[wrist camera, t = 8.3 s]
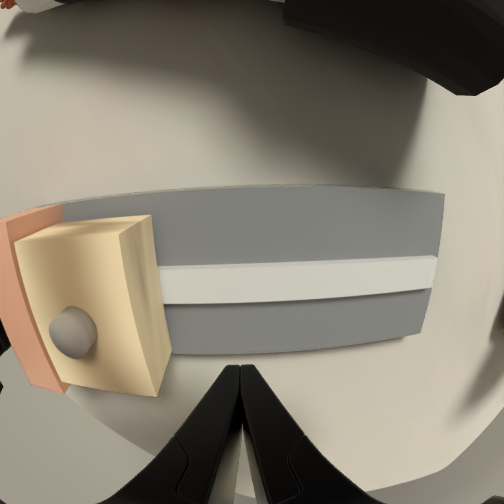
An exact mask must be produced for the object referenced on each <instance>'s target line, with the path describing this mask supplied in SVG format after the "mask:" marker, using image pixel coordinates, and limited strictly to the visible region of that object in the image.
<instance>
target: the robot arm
mask: <svg viewBox="0 0 504 504" xmlns="http://www.w3.org/2000/svg"><path fill="white" fill-rule="evenodd" d="M11 346H12V345H11V343H10V341H9V338H8V336H7V334H6V331H5V329H4V326H3V324H2V321H1V318H0V356H1V355H2V354H3V353H4V352H5V351H7V350H8V349H9V348H10V347H11ZM2 388H3V385H2V383H1V382H0V393H1V391H2ZM242 424H243V433H244V439H245V445H246V450H247V456H248V461H249V466H250V471H251V476H252V481H253V486H254V491H255V496H256V501H257V504H386V503H383V502H381V501H378V500H376V499H374V498H373V497H371V496H370V495H368V494H367V493H365V492H364V491H363V490H362V489H361V488H359V487H358V486H357V485H356V484H354V483H353V482H352V481H351V480H350V479H348V478H347V477H346V476H345V475H344V474H343V473H341V472H340V471H339V470H338V469H337V468H336V467H335V466H334V465H333V464H331V463H330V462H329V461H328V460H327V459H326V458H325V457H324V456H323V455H322V454H321V453H320V451H319V450H318V449H317V448H316V447H315V446H314V444H313V443H312V442H311V441H310V440H309V438H308V437H307V436H306V435H304V432H303V431H302V429H301V428H300V427H299V426H298V424H297V423H296V422H295V420H294V419H293V418H292V416H291V415H290V414H289V412H288V411H287V410H286V408H285V407H284V406H283V404H282V403H281V402H280V400H279V399H278V398H277V396H276V395H275V393H274V392H273V391H272V389H271V388H270V387H269V385H268V384H267V382H266V381H265V380H264V378H263V377H262V375H261V374H260V372H259V371H258V370H257V368H256V367H255V366H254V365H253V364H246V365H241V366H239V365H227V366H226V367H225V368H224V369H223V371H222V372H221V373H220V375H219V376H218V378H217V379H216V380H215V382H214V383H213V384H212V386H211V387H210V388H209V390H208V391H207V393H206V394H205V395H204V397H203V398H202V399H201V401H200V402H199V403H198V405H197V406H196V407H195V409H194V410H193V411H192V413H191V414H190V415H189V416H188V418H187V419H186V420H185V422H184V423H183V424H182V426H181V427H180V428H179V429H178V431H177V432H176V433H175V435H174V437H172V438H171V439H170V441H169V442H168V443H167V445H166V446H165V447H164V448H163V449H162V450H161V452H160V453H159V454H158V455H157V456H156V457H155V458H154V459H153V460H152V461H151V462H150V463H149V464H148V465H147V466H146V467H145V468H144V469H143V470H142V471H141V472H140V473H138V474H137V475H136V476H135V477H134V478H133V479H132V480H130V481H129V482H128V483H127V484H126V485H125V486H124V487H122V488H121V489H120V490H119V491H118V492H116V493H115V494H114V495H113V496H111V497H109V498H108V499H106V500H104V501H102V502H100V503H97V504H233V501H234V494H235V486H236V478H237V471H238V463H239V455H240V447H241V438H242ZM0 504H6V503H4V502H3V501H2V500H0ZM482 504H504V497H501V496H496V495H495V496H492V497H490V498H489V499H487V500H486V501H485V502H483V503H482Z"/></svg>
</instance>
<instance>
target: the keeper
mask: <svg viewBox="0 0 504 504" xmlns="http://www.w3.org/2000/svg"><path fill="white" fill-rule="evenodd" d="M14 245H15V250H16V255H17V259H18V264H19V268H20V272H21V276H22V280H23V283H24V287H25V290H26V294H27V297H28V300H29V303H30V307H31V310H32V313H33V315H34V318H35V321H36V324H37V327H38V329H39V332H40V334H41V337H42V339H43V342H44V344H45V347H46V349H47V351H48V354H49V356H50V358H51V360H52V363H53V365H54V367H55V369H56V371H57V373H58V375H59V377H60V379H61V381H62V382H66V383H70V384H75V385H79V386H84V387H89V388H95V389H100V390H106V391H112V392H119V393H126V394H134V395H142V396H152V397H157V395H158V392H159V389H160V386H161V383H162V379H163V376H164V373H165V370H166V367H167V364H168V361H169V358H170V355H171V352H172V347H171V342H170V337H169V332H168V327H167V322H166V317H165V311H164V306H163V300H162V294H161V288H160V281H159V275H158V268H157V260H156V253H155V245H154V236H153V227H152V216H151V215H140V216H127V217H115V218H104V219H94V220H84V221H74V222H65V223H58V224H55V225H53V226H50V227H48V228H46V229H43V230H41V231H38V232H36V233H34V234H32V235H29V236H27V237H25V238H23V239H20V240H18V241H16V242H14Z"/></svg>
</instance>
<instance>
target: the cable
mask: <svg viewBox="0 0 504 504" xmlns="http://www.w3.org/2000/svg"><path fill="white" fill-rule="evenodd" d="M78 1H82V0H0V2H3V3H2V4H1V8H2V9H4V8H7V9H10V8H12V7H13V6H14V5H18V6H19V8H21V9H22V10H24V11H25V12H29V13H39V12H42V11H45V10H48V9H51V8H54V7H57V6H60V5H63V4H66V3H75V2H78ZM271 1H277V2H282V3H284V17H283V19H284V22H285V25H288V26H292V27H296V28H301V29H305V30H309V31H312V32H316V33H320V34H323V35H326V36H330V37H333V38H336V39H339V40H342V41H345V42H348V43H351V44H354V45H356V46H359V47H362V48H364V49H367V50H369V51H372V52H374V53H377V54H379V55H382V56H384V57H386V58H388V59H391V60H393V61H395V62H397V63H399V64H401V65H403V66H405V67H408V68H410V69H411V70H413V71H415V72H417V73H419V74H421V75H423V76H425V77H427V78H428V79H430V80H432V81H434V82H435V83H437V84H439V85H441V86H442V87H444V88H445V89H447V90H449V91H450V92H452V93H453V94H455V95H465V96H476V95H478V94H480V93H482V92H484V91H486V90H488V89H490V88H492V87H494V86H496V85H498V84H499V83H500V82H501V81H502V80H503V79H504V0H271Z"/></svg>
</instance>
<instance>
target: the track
mask: <svg viewBox="0 0 504 504" xmlns="http://www.w3.org/2000/svg"><path fill="white" fill-rule="evenodd" d="M444 196H445V194H442V193H438V192H433V191H425V190H413V189H400V188H385V187H367V186H342V185H245V186H219V187H200V188H185V189H171V190H159V191H148V192H137V193H128V194H119V195H110V196H102V197H94V198H87V199H80V200H73V201H66V202H60V203H54V204H48V205H43V206H40V207H37V208H33V209H29V210H26V211H23V212H19V213H16V214H13V215H10V216H7V217H4V218H1V219H0V318H1V321H2V324H3V326H4V329H5V331H6V334H7V336H8V338H9V341H10V343H11V345H12V347H13V350H14V352H15V354H16V356H17V358H18V360H19V362H20V364H21V366H22V368H23V370H24V372H25V374H26V376H27V378H28V380H29V382H30V383H31V385H34V386H38V387H41V388H44V389H48V390H51V391H54V392H58V393H62V394H64V393H65V392H66V390H67V389H68V387H69V386H70V383H66V382H62V381H61V379H60V377H59V375H58V373H57V371H56V369H55V367H54V365H53V363H52V360H51V358H50V356H49V354H48V351H47V349H46V347H45V344H44V342H43V339H42V337H41V334H40V332H39V329H38V327H37V324H36V321H35V318H34V315H33V313H32V310H31V307H30V303H29V300H28V297H27V294H26V290H25V287H24V283H23V280H22V276H21V272H20V268H19V264H18V259H17V255H16V250H15V245H14V242H16V241H18V240H20V239H23V238H25V237H27V236H29V235H32V234H34V233H36V232H38V231H41V230H43V229H46V228H48V227H50V226H53V225H55V224H58V223H65V222H74V221H84V220H94V219H104V218H115V217H127V216H140V215H151V216H152V227H153V236H154V245H155V253H156V260H157V268H158V275H159V281H160V288H161V294H162V300H163V306H164V311H165V317H166V322H167V327H168V332H169V337H170V342H171V347H172V352H171V354H206V355H214V354H256V353H275V352H290V351H302V350H313V349H323V348H332V347H340V346H348V345H355V344H362V343H369V342H375V341H381V340H387V339H393V338H398V337H403V336H409V335H413V334H418V333H420V332H421V328H422V325H423V321H424V318H425V314H426V310H427V306H428V302H429V298H430V293H431V289H432V286H433V281H434V276H435V271H436V266H437V260H438V251H439V245H440V237H441V229H442V220H443V210H444Z"/></svg>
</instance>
